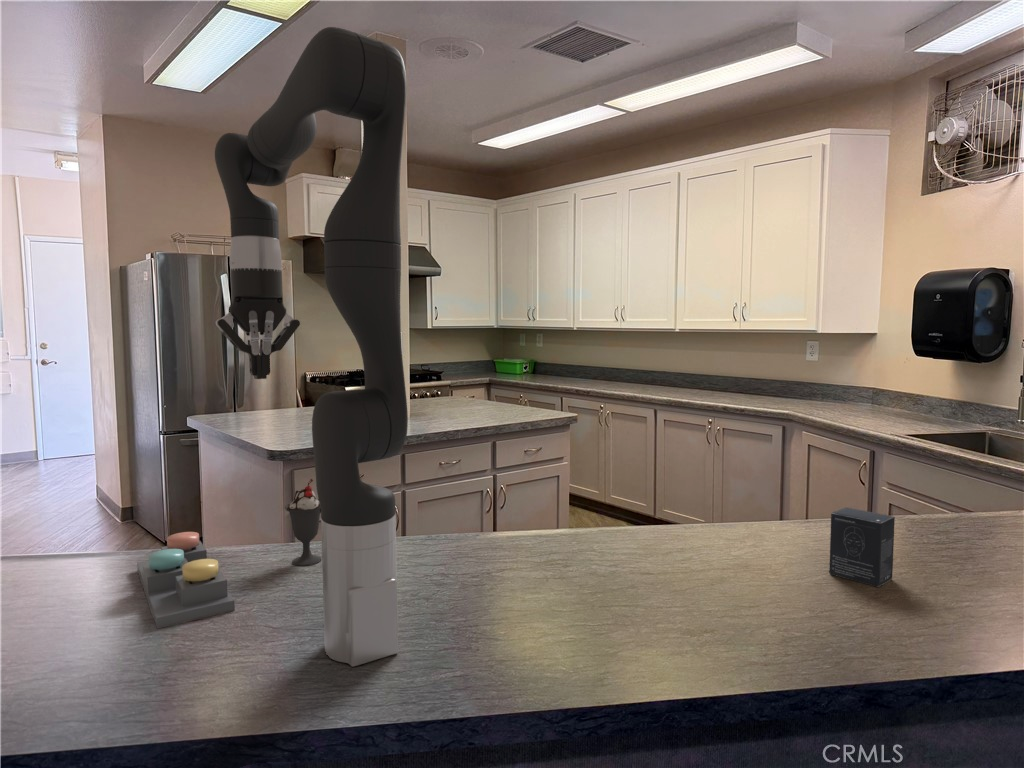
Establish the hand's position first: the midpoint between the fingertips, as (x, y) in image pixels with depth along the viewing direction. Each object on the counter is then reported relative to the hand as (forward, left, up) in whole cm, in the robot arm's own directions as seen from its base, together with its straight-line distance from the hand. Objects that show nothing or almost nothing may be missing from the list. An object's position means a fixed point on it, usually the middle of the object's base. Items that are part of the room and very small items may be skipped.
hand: (260, 378), depth 103 cm
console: (+4, +12, -33) cm, 35 cm away
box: (-55, -80, -33) cm, 103 cm away
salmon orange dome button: (+12, +11, -31) cm, 35 cm away
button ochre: (-4, +10, -31) cm, 33 cm away
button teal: (+4, +14, -31) cm, 34 cm away
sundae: (+5, -8, -33) cm, 35 cm away
